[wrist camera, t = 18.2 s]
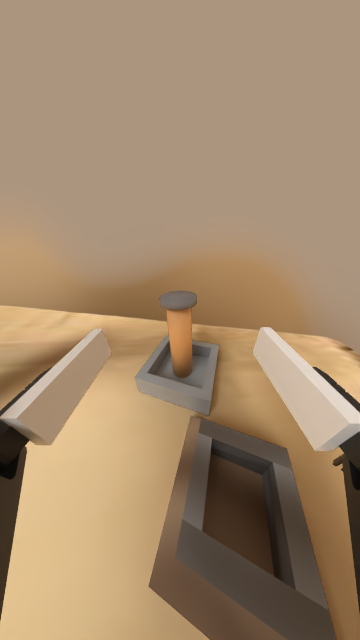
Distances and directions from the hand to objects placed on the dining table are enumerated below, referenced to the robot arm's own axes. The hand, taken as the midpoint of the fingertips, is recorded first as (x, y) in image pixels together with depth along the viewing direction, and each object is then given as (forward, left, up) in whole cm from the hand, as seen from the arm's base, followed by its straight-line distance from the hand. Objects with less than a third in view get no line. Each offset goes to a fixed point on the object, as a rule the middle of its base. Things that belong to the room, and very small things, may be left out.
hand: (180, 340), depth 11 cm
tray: (+9, +3, -16) cm, 19 cm away
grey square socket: (-5, -7, -16) cm, 18 cm away
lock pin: (+9, +3, -15) cm, 18 cm away
